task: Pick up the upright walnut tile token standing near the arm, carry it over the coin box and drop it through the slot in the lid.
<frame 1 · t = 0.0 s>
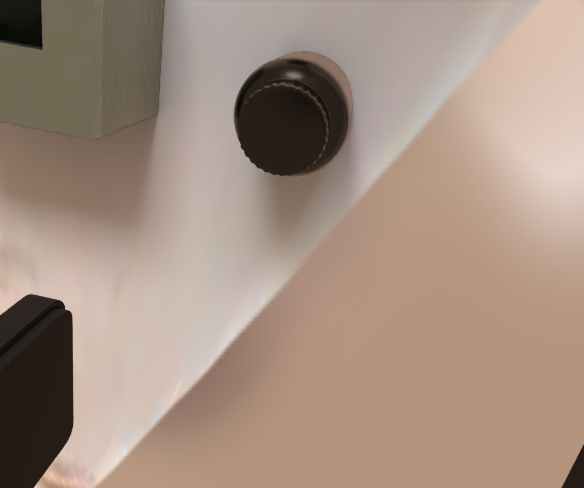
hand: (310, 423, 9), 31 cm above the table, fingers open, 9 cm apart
supplement bottle: (306, 100, 38), on the table
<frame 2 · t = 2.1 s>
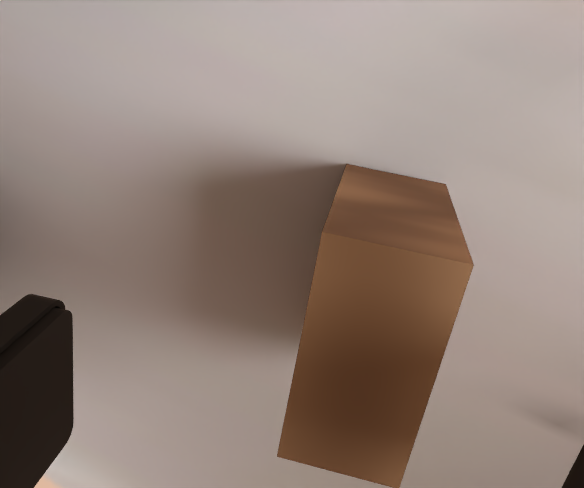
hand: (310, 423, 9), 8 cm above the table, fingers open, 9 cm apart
token: (373, 262, 17), on the table
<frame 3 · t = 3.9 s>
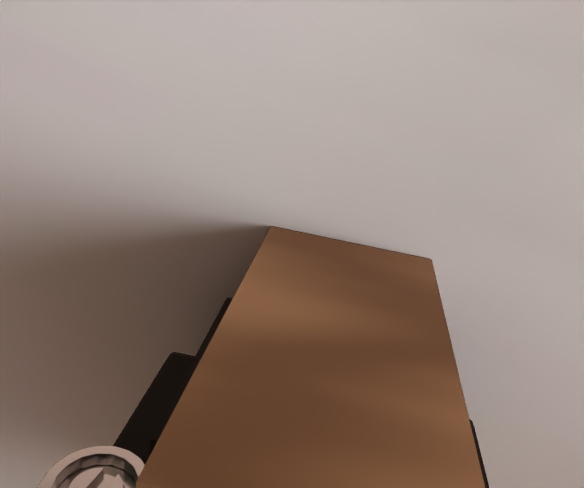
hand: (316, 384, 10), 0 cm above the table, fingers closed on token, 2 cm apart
token: (320, 373, 11), on the table, touching gripper
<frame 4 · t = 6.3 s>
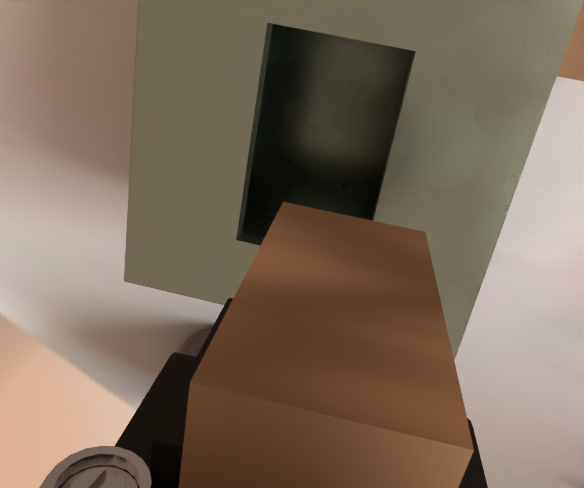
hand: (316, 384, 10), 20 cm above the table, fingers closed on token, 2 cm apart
supplement bottle: (226, 367, 36), on the table
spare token: (557, 3, 25), on the table
token: (325, 335, 12), point 18 cm above the table, touching gripper
coin box: (338, 114, 28), on the table
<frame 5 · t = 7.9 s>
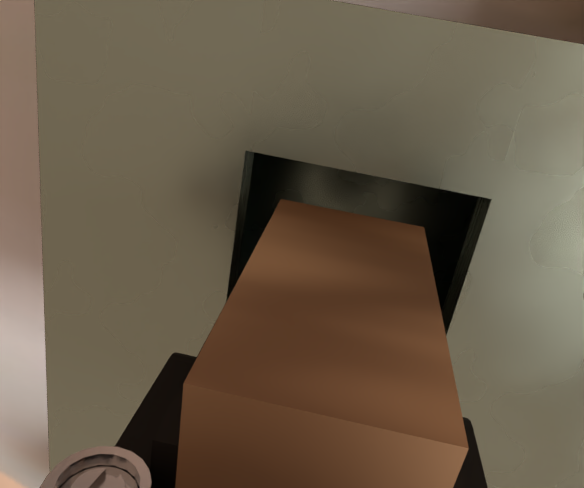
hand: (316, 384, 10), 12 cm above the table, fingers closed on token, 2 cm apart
token: (326, 332, 12), point 10 cm above the table, touching gripper
coin box: (349, 205, 21), on the table
when the fingers open (11 cm above the table, at t = 8.7 s): token drops 9 cm, resting on coin box.
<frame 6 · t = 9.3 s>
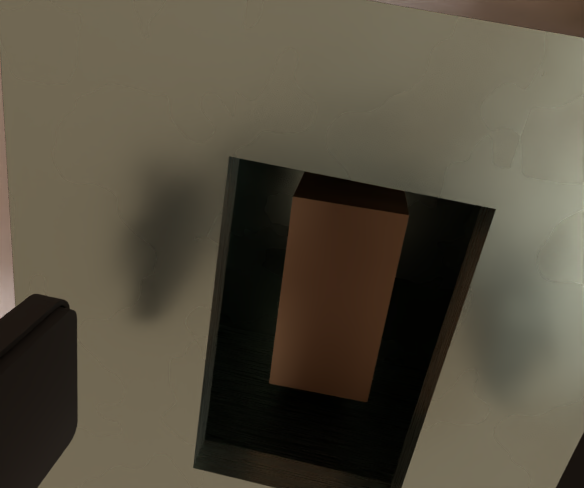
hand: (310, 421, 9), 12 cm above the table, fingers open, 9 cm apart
token: (344, 230, 20), point 1 cm above the table, touching coin box
coin box: (344, 209, 20), on the table
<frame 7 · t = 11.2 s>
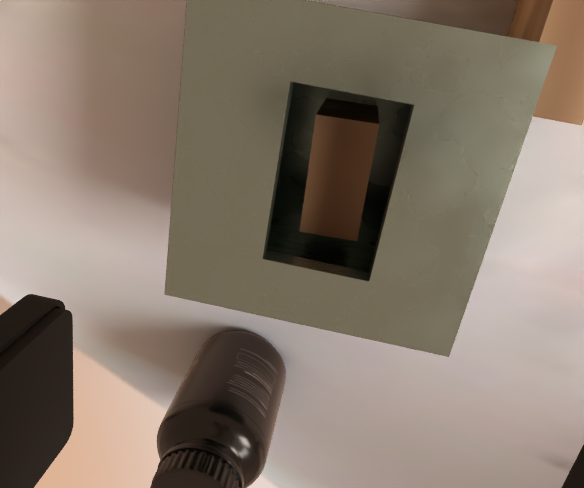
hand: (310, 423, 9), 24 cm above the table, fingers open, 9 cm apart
supplement bottle: (242, 365, 39), on the table
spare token: (534, 45, 28), on the table
token: (343, 153, 31), point 1 cm above the table, touching coin box
coin box: (343, 140, 32), on the table
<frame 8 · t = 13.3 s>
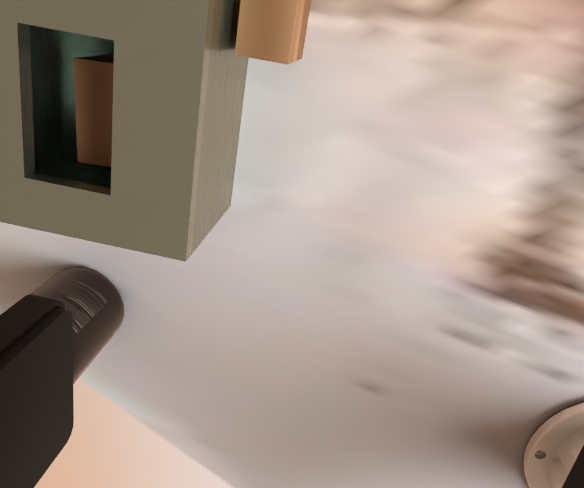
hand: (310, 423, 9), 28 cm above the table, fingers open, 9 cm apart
supplement bottle: (89, 300, 44), on the table
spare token: (286, 4, 33), on the table
token: (141, 101, 36), point 1 cm above the table, touching coin box
coin box: (143, 91, 36), on the table
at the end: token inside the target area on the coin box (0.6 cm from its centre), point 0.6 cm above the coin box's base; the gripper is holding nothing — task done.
